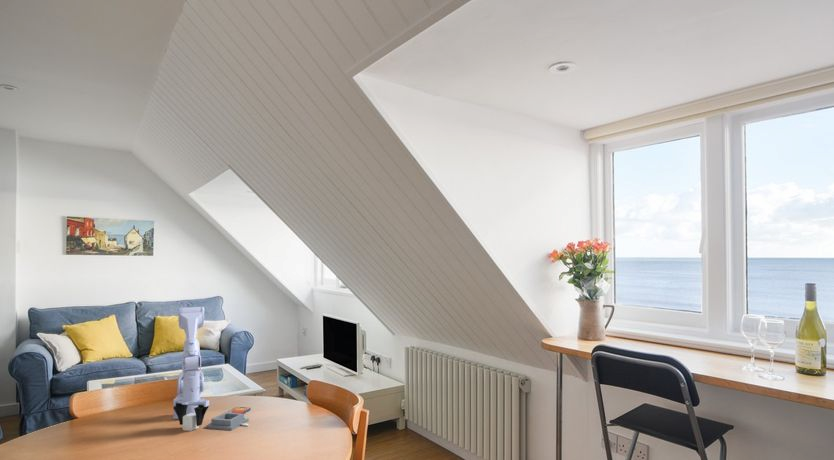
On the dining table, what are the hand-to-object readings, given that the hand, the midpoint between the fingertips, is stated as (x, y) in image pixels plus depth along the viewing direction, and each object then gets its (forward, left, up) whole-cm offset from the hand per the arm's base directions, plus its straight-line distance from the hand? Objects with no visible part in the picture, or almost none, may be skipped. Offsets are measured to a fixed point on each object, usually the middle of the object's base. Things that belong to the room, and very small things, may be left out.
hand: (190, 424), depth 186 cm
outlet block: (+13, +7, -1) cm, 15 cm away
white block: (0, 0, -2) cm, 2 cm away
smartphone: (+6, +18, -2) cm, 19 cm away
